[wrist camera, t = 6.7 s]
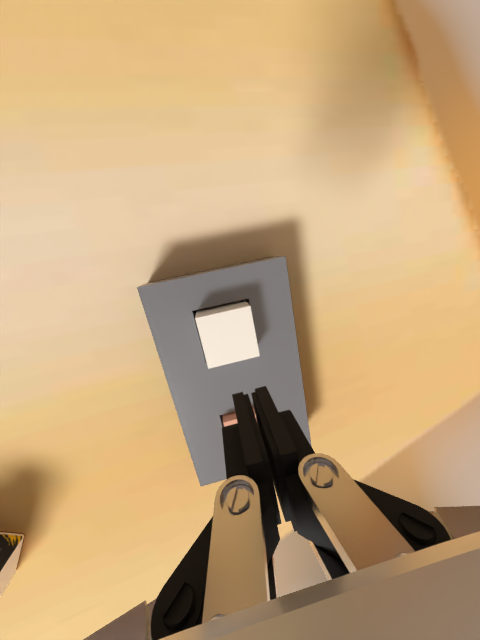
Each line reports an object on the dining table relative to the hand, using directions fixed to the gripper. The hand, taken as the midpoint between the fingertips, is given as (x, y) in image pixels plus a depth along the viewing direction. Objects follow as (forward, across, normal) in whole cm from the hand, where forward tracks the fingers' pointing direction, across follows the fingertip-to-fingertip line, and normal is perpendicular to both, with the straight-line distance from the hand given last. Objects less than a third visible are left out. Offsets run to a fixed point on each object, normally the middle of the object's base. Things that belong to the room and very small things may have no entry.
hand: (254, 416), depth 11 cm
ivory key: (+14, 0, 0) cm, 14 cm away
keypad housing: (+17, 0, +6) cm, 18 cm away
